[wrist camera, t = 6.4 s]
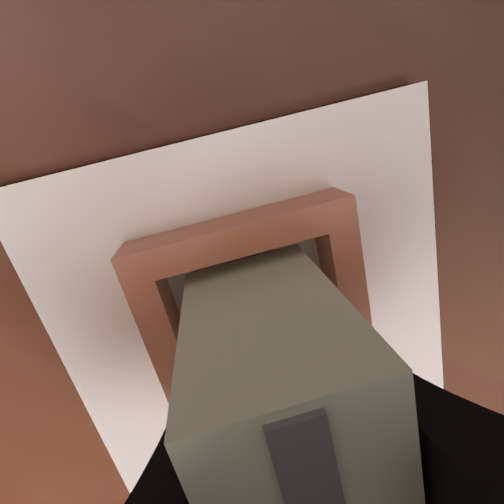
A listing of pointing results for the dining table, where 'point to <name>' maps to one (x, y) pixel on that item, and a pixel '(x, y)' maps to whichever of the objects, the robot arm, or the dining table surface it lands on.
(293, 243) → the duct plate
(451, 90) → the dining table surface
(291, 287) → the striped green box
